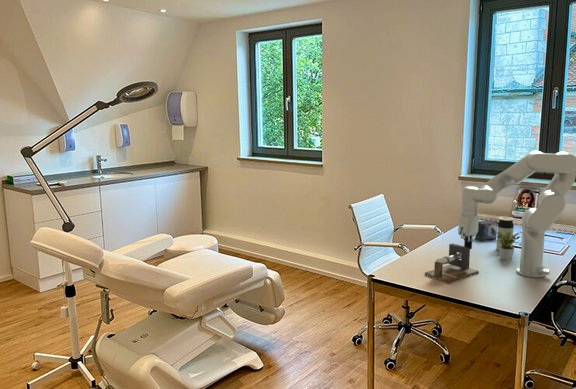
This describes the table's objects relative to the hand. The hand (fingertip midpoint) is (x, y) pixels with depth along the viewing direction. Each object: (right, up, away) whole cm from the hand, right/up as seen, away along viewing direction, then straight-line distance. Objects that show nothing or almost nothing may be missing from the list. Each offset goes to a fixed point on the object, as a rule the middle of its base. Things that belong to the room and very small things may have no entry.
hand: (467, 248), depth 239 cm
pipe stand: (-9, -12, -4) cm, 16 cm away
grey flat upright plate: (-5, -8, -2) cm, 10 cm away
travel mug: (+31, -4, +31) cm, 44 cm away
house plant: (+26, -8, +14) cm, 31 cm away
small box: (+30, 0, +52) cm, 60 cm away
